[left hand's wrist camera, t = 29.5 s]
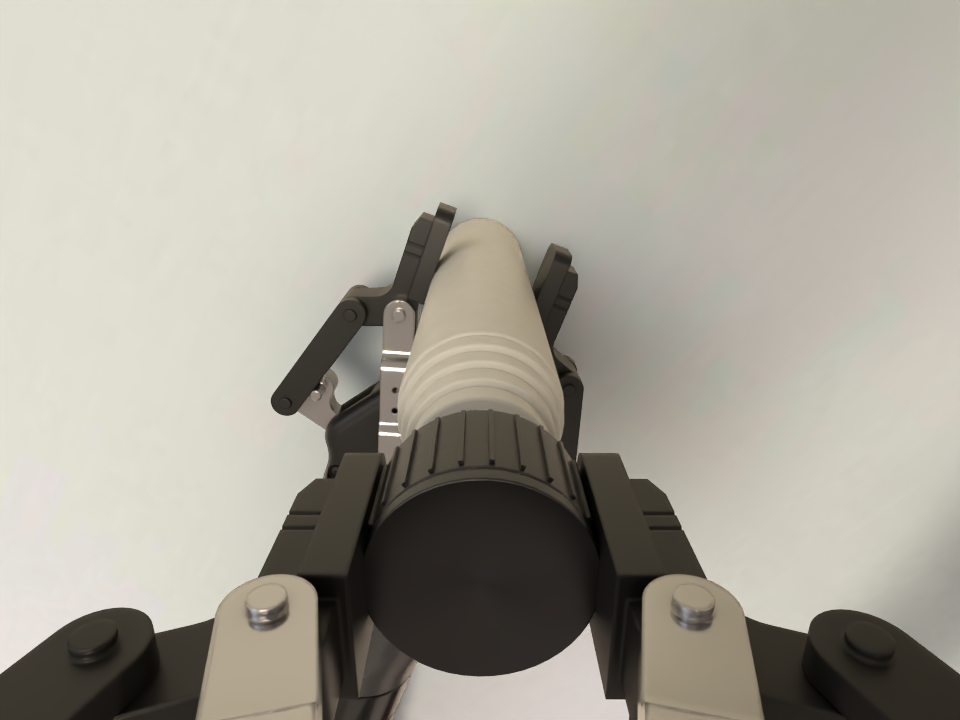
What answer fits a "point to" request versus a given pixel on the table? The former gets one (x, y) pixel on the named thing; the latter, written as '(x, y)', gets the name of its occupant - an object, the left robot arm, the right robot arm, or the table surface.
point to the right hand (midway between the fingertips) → (505, 231)
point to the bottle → (480, 337)
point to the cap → (481, 546)
